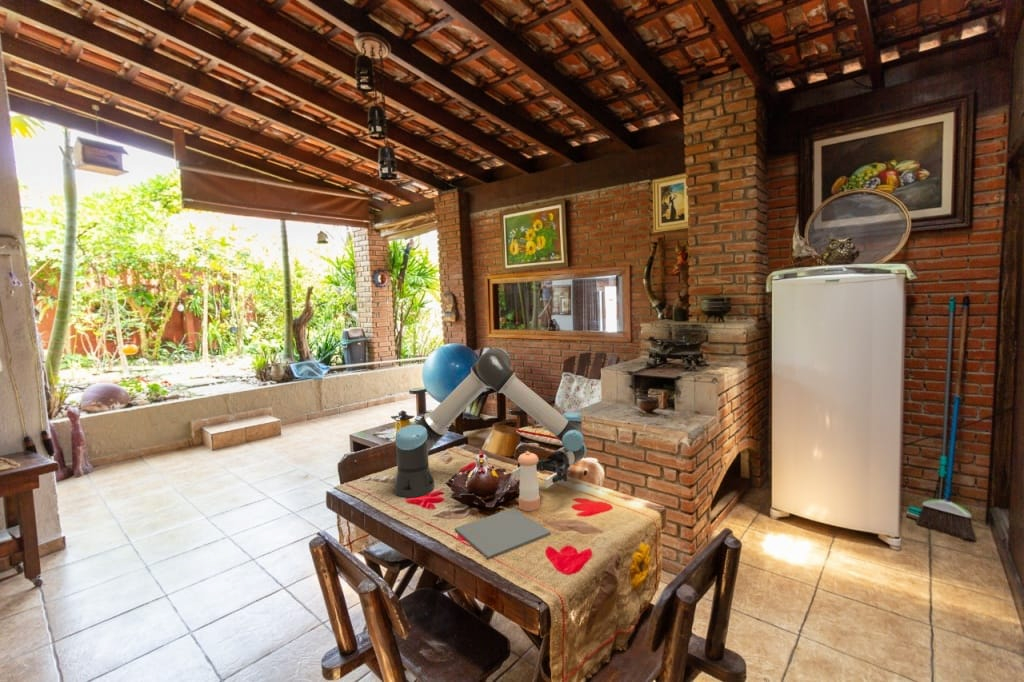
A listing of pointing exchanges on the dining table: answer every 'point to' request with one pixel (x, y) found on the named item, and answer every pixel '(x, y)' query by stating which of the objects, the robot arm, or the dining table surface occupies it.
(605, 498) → the dining table surface
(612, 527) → the dining table surface
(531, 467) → the pepper shaker
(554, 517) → the dining table surface
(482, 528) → the slate mat
